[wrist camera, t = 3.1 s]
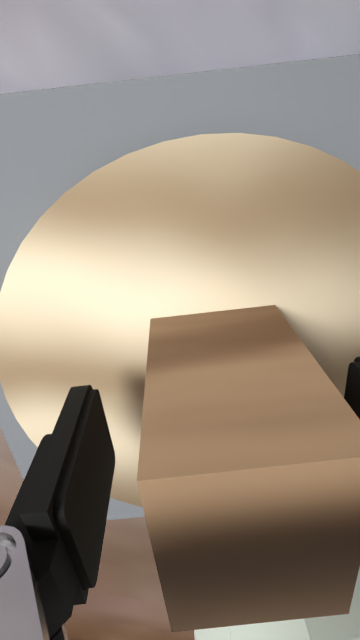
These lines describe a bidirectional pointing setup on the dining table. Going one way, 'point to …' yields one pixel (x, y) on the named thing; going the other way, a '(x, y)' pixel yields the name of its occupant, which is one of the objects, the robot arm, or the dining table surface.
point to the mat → (151, 128)
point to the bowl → (295, 627)
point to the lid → (208, 362)
